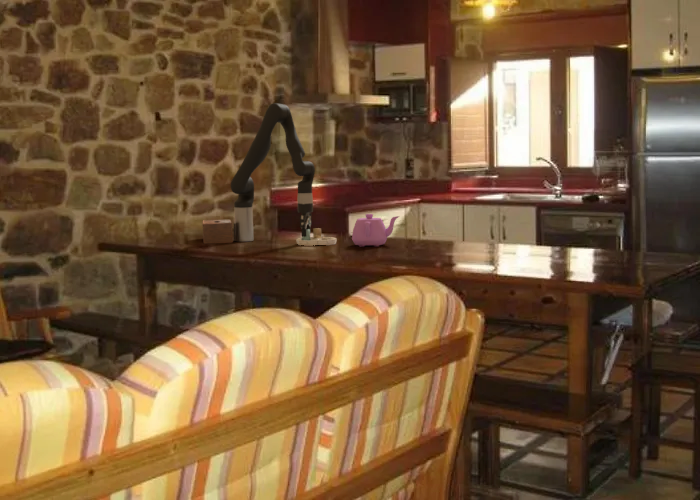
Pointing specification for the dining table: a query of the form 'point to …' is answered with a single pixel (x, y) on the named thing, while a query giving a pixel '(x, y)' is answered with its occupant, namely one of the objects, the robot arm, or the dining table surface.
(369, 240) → the teapot
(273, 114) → the robot arm
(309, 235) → the bead teal
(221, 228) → the tissue box cover
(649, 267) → the dining table surface
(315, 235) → the bead oak
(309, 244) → the tray
